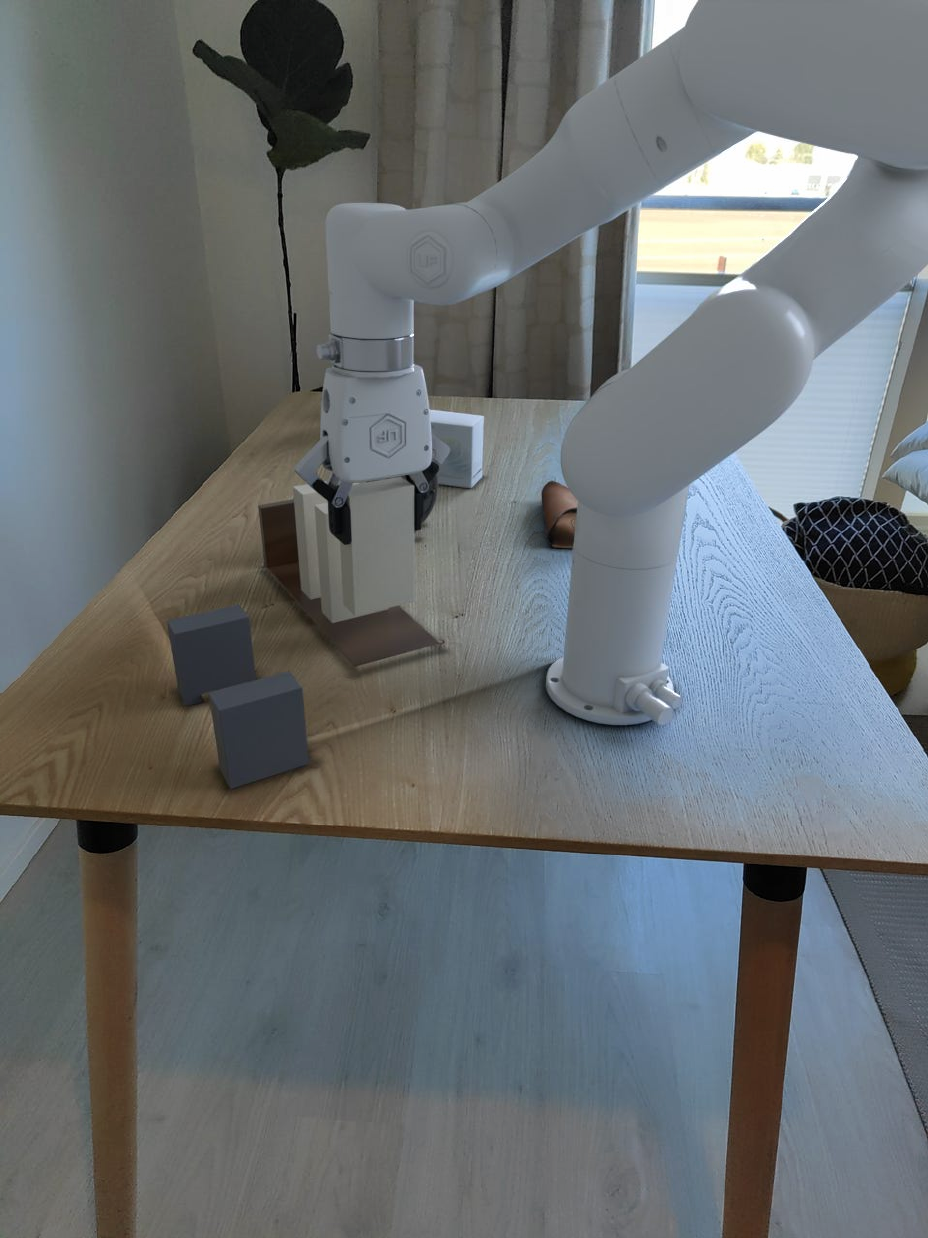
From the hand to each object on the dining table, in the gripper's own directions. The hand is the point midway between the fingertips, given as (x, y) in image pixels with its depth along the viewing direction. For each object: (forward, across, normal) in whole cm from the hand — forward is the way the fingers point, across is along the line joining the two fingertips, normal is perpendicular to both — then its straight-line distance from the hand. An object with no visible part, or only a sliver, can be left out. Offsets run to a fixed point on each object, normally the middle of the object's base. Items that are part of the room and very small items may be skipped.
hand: (377, 531), depth 87 cm
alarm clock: (+14, +16, +26) cm, 33 cm away
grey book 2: (+13, -18, -14) cm, 26 cm away
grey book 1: (+13, -18, 0) cm, 22 cm away
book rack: (+13, 0, +10) cm, 17 cm away
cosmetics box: (+14, +33, +44) cm, 57 cm away
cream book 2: (+12, 0, +7) cm, 14 cm away
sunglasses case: (+13, +40, +18) cm, 46 cm away
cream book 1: (+12, 0, +13) cm, 18 cm away
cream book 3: (+8, 0, 0) cm, 8 cm away
